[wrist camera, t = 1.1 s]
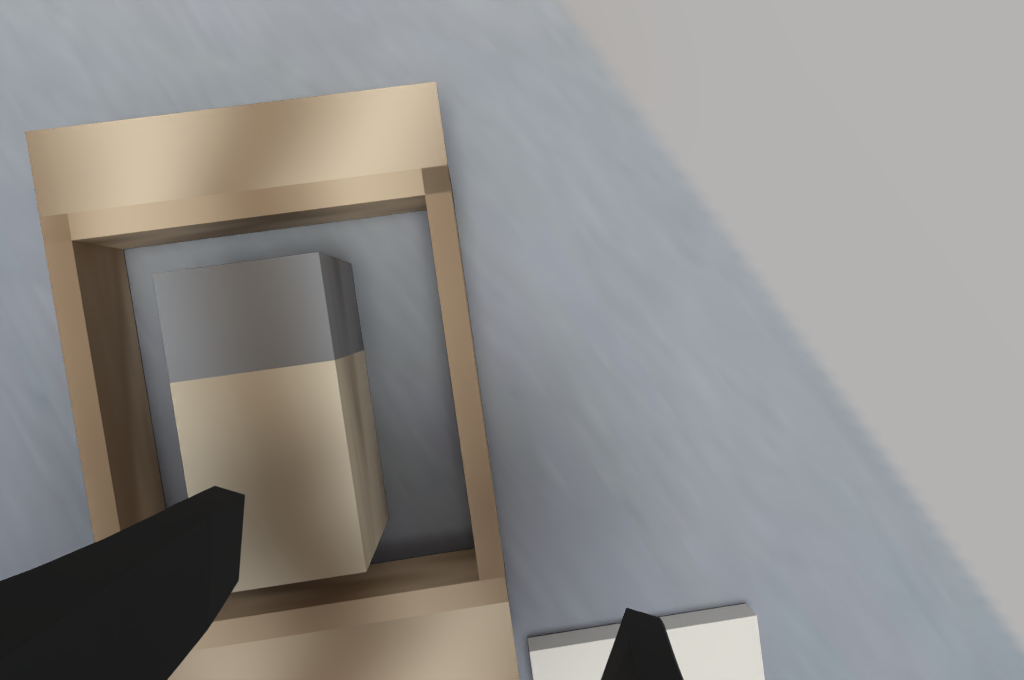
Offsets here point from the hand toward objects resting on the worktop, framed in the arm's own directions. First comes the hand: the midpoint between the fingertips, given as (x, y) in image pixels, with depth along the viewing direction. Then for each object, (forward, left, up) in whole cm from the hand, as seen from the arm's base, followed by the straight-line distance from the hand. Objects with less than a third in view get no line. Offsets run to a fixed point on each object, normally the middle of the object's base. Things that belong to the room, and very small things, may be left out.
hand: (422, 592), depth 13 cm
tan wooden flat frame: (-5, +3, -12) cm, 13 cm away
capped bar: (-5, +3, -12) cm, 13 cm away
